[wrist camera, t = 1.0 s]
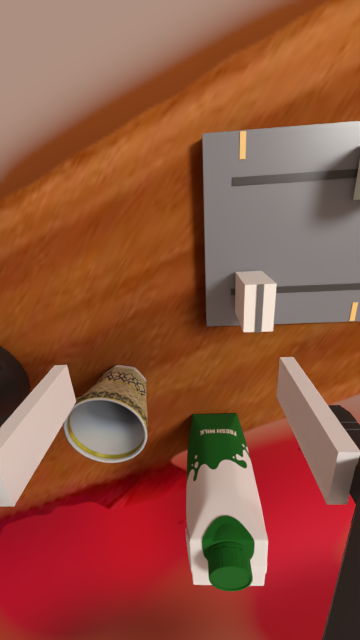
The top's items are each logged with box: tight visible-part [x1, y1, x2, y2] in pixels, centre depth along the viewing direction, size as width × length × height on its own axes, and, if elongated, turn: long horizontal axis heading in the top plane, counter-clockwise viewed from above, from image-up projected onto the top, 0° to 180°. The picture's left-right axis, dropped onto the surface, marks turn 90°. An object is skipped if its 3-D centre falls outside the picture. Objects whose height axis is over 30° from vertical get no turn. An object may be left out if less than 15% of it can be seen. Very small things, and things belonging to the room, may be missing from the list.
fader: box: [235, 271, 277, 332], centre depth 29 cm, size 3×5×6 cm, turn 3°
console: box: [202, 121, 360, 326], centre depth 31 cm, size 22×21×2 cm
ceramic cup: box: [63, 365, 148, 463], centre depth 36 cm, size 13×10×10 cm
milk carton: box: [186, 413, 268, 591], centre depth 34 cm, size 9×9×20 cm
